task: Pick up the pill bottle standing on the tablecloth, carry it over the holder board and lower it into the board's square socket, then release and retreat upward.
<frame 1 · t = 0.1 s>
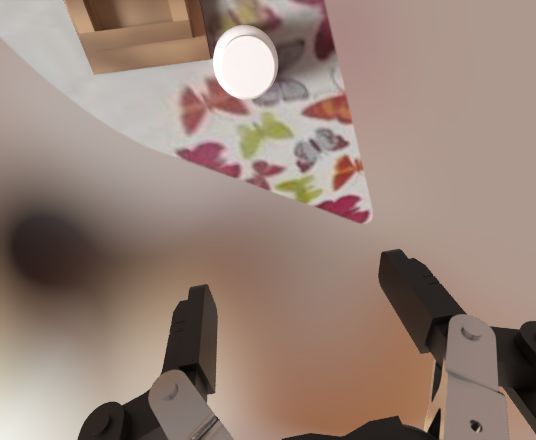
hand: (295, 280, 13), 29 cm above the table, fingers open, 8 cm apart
pill bottle: (242, 57, 33), on the table
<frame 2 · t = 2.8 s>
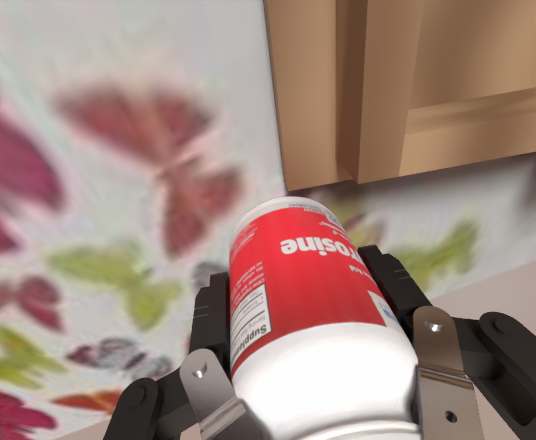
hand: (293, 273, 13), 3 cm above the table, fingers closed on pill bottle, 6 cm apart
pill bottle: (283, 238, 16), on the table, touching gripper
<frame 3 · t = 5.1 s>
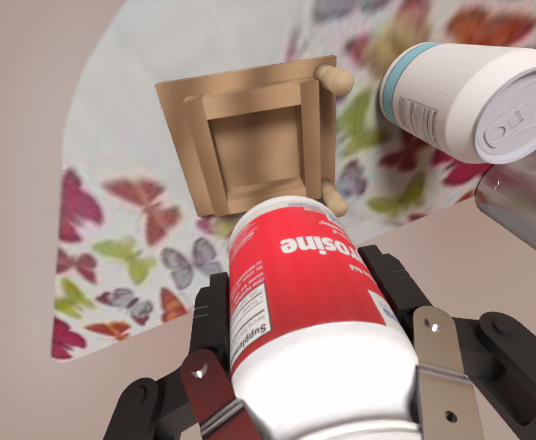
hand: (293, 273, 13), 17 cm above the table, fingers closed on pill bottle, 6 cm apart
pill bottle: (283, 237, 16), point 14 cm above the table, touching gripper
holder: (257, 143, 27), on the table
beverage can: (409, 85, 26), on the table
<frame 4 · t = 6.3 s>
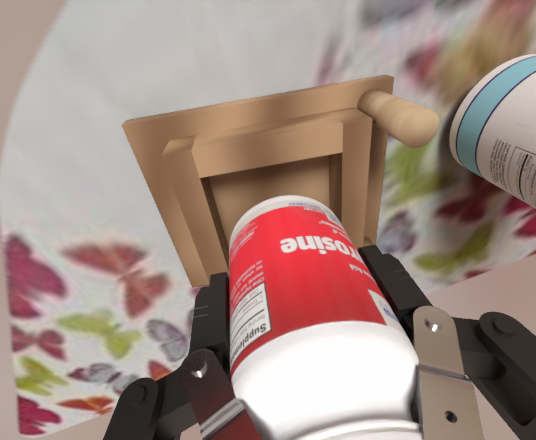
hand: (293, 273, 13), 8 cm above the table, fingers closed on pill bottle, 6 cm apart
pill bottle: (283, 237, 16), point 5 cm above the table, touching gripper
holder: (272, 195, 20), on the table
beverage can: (489, 113, 18), on the table
when the fingers open (5 cm above the table, at t = 7.4 s): pill bottle drops 1 cm, resting on holder.
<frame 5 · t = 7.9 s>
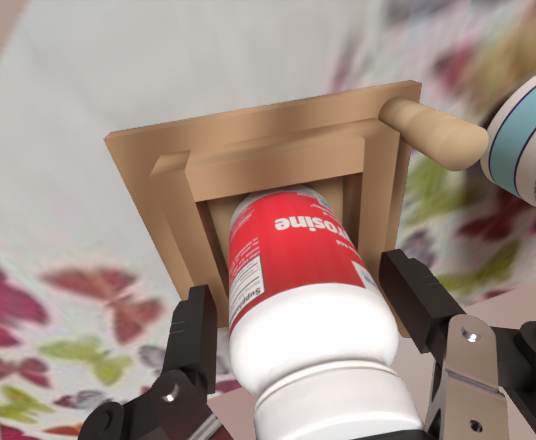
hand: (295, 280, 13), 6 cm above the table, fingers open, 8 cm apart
pill bottle: (279, 223, 17), point 1 cm above the table, touching holder
holder: (277, 214, 17), on the table
beverage can: (524, 123, 16), on the table
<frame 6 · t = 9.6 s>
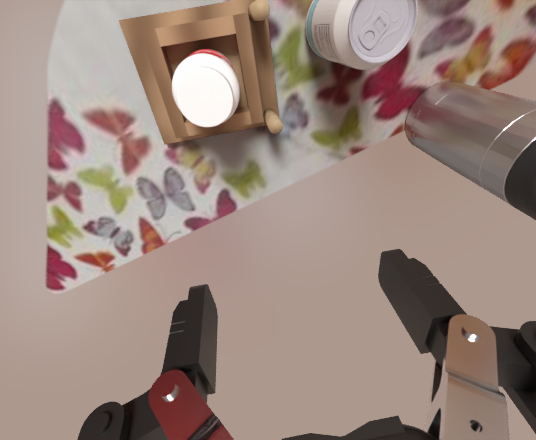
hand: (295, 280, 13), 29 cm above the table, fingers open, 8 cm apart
pill bottle: (209, 79, 32), point 1 cm above the table, touching holder
holder: (209, 76, 33), on the table
beverage can: (332, 24, 32), on the table
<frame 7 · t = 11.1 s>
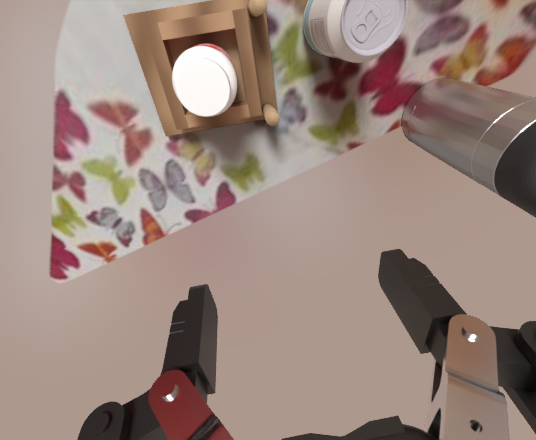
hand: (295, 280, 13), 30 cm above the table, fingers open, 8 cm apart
pill bottle: (209, 72, 33), point 1 cm above the table, touching holder
holder: (210, 70, 34), on the table
beverage can: (329, 20, 33), on the table
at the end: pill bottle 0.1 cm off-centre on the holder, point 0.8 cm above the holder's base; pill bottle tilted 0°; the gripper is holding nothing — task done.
